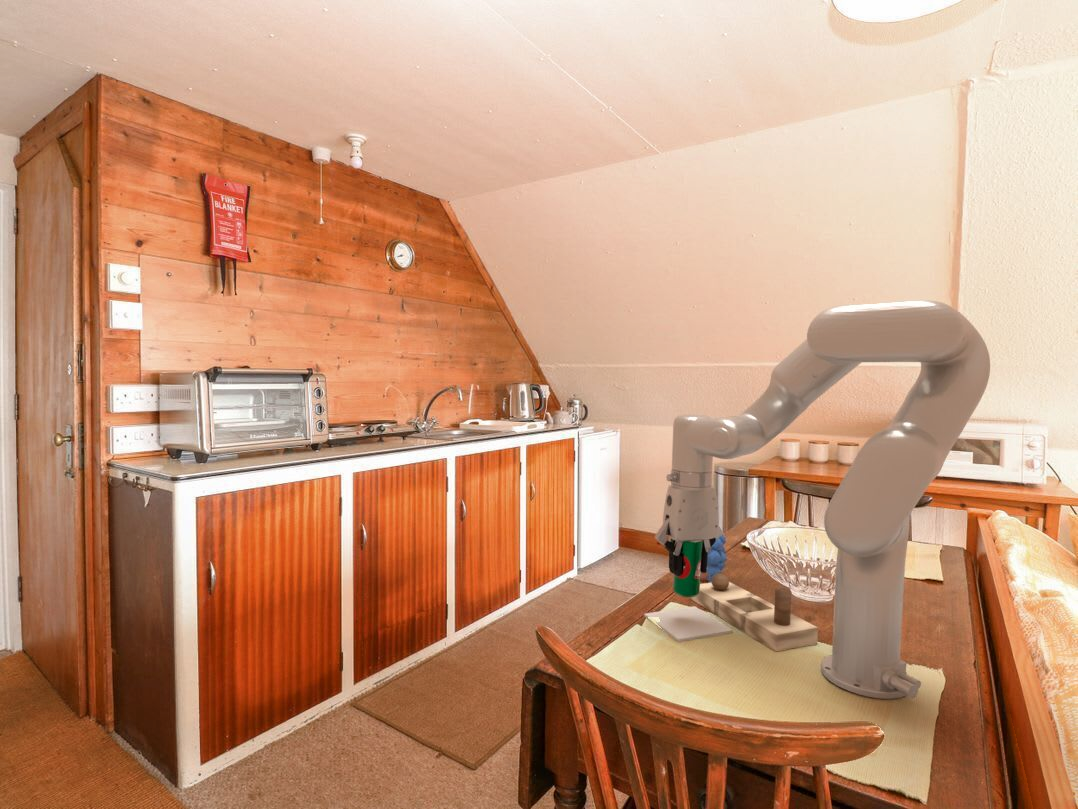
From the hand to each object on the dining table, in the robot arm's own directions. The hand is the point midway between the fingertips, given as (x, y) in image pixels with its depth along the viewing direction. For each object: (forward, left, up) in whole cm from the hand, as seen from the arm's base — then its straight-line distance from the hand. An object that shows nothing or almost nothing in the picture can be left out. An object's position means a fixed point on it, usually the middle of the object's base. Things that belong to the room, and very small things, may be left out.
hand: (687, 571), depth 116 cm
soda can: (0, 0, -5) cm, 5 cm away
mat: (0, 0, -10) cm, 10 cm away
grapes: (+18, -19, -11) cm, 28 cm away
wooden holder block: (-2, -13, -10) cm, 17 cm away
